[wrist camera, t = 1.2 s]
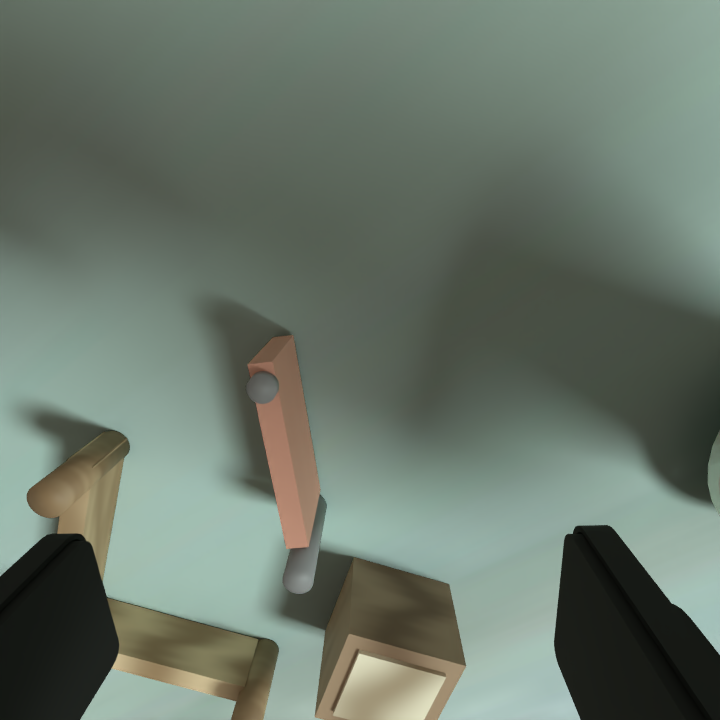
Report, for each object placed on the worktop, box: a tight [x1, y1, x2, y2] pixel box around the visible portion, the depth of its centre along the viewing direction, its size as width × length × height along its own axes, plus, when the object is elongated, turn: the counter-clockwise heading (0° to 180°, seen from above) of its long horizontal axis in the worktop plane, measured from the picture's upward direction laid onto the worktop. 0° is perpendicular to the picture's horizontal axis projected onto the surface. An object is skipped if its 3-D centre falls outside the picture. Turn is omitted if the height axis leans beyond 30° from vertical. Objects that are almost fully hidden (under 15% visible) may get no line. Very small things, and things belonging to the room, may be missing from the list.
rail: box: [246, 335, 327, 594], centre depth 24 cm, size 12×2×6 cm, turn 7°
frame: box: [27, 431, 279, 720], centre depth 27 cm, size 16×16×6 cm
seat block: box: [315, 557, 466, 720], centre depth 28 cm, size 7×7×6 cm
